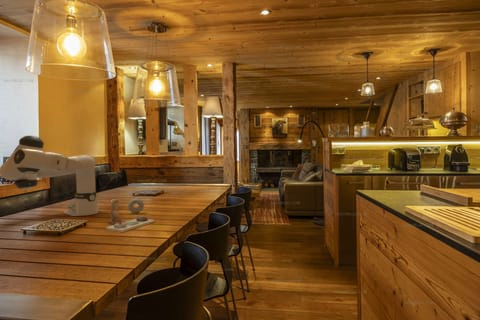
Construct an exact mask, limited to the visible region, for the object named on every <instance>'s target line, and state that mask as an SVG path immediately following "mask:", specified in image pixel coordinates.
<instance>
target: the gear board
mask: <svg viewBox="0 0 480 320" xmlns="http://www.w3.org/2000/svg"><path fill="white" fill-rule="evenodd" d="M154 223H156V221H155V219H148V217H147V216H144V215H141V216H140V217H137V218H134V219H131V220H127V221H122V222H119V223H116V224H112V225H109V226H106V227H105V230H107V231H112V232H119V233H125V232H128V231H131V230H134V229H137V228H141V227H144V226H147V225H150V224H154Z"/></svg>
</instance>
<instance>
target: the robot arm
mask: <svg viewBox="0 0 480 320" xmlns="http://www.w3.org/2000/svg"><path fill="white" fill-rule="evenodd" d="M44 145H45V142H44V141H43V140H42V139H41V138H40V137H38V136H36V135H25V136H22V137H20V139H19V141H18V145H17V146H16V148H15V149H14V151H13V152H12V153H11V154H10V156H9V157H8V159H6V161H5V162H4V163H2V164H1V165H0V176H1V178H3V179H5V180H9V181H13V185H15V186H16V187H17V188H18V189H20V190H31V189H34V187H36V186H37V185H38V183H39V182H38V178H40V179H43V178H54V177H60V176H67V175H72V174H73V175H74V174H75V180H76V192H75V193H74V199H72V201H71V202H69V203H68V205H67V210H65V211H63V214H65V215H68V216H72V217H78V216H80V217H81V216H91V215H95V214H98V213H99V212H100V209H99V206H98V199H97V191H96V172H95V171H96V170H95V169H96V168H95V167H96V165H97V164H96V163H97V161H96V159H95V158H94V156H92V155H90V154H83V155H75V156H65V155H63V154H62V153H58V152H57V153H56V152H52V151H43V148H44Z"/></svg>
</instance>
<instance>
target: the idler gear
mask: <svg viewBox="0 0 480 320" xmlns="http://www.w3.org/2000/svg"><path fill="white" fill-rule="evenodd" d="M119 202H120V201H119V199H117V198H116V199H111V200H110V205H111V206H110V209H111V211H110V213H111V214H110V215H111V216H110V220H108V221H107V222H108V224H109V225H114V224H116V223H119V222H122V223H123V221H122V219H120V218H119V217H120V215H119V213H120V207H119V205H120V203H119Z"/></svg>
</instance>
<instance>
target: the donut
mask: <svg viewBox="0 0 480 320" xmlns="http://www.w3.org/2000/svg"><path fill="white" fill-rule="evenodd" d="M127 204H128V205H127V207H128V210H129V212H130V213H133V214H138V213H141V212H142V211H143V210H144V205H145V204H144V202H143V200H141V198H138V197H137V198H135V197H134V198H132V199H131V200H129V202H128V203H127ZM135 204H137V205H138V207H134V205H135Z"/></svg>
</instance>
